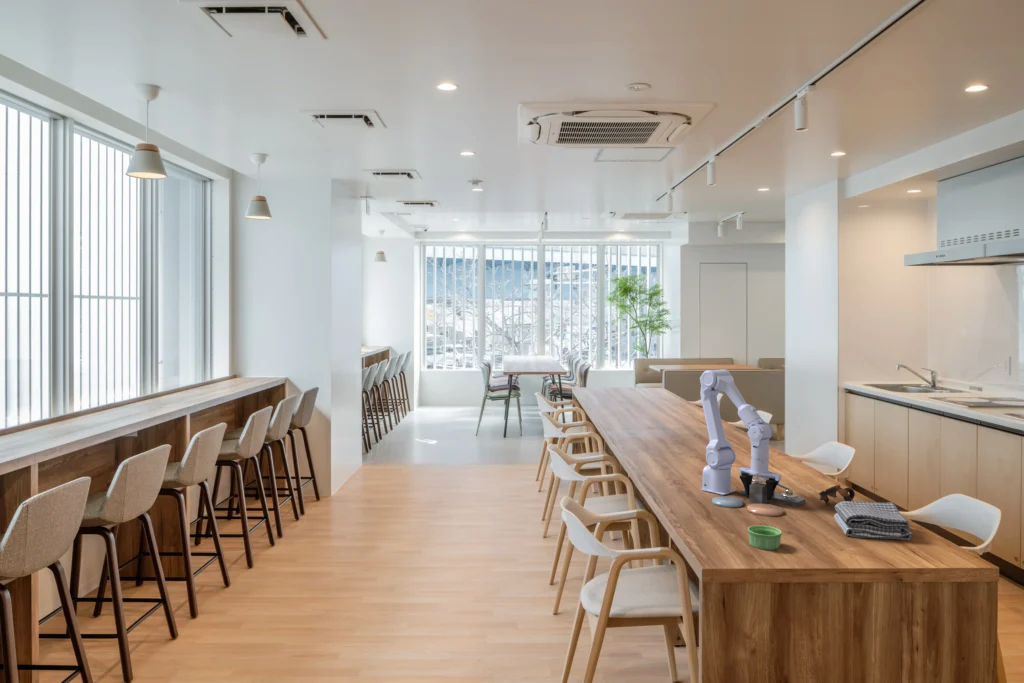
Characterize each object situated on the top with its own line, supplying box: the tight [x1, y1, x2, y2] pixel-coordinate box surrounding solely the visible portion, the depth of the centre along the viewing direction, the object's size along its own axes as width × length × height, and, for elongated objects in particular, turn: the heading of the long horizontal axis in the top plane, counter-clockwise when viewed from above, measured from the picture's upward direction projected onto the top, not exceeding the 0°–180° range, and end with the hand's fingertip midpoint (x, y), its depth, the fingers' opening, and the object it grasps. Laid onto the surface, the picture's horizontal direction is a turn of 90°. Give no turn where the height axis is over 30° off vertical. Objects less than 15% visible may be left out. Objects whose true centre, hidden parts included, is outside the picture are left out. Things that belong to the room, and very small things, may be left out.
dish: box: [746, 503, 784, 517], centre depth 228 cm, size 11×11×1 cm
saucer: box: [711, 496, 744, 509], centre depth 237 cm, size 10×10×1 cm
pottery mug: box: [818, 484, 856, 504], centre depth 235 cm, size 12×10×8 cm
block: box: [748, 482, 769, 504], centre depth 239 cm, size 4×4×6 cm
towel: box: [833, 500, 914, 541], centre depth 208 cm, size 15×18×8 cm
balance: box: [740, 476, 807, 507], centre depth 244 cm, size 20×7×8 cm, turn 43°
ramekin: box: [747, 524, 783, 551], centre depth 195 cm, size 9×9×4 cm
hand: (758, 497), depth 239 cm, fingers open, 7 cm apart
